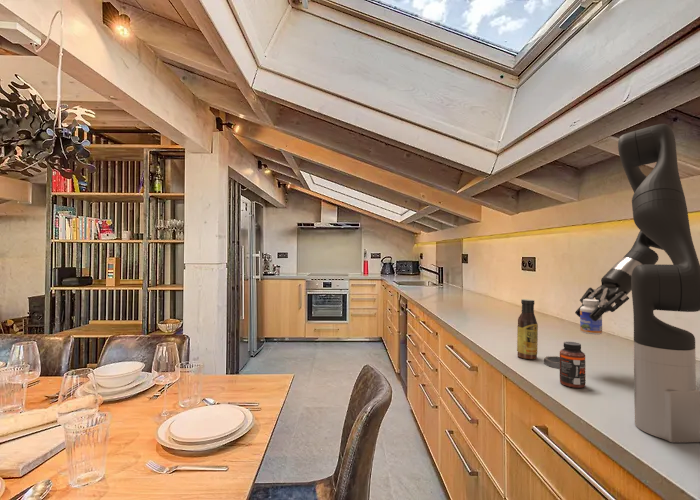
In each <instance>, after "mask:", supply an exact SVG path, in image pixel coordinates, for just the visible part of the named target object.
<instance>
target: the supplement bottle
mask: <svg viewBox="0 0 700 500" xmlns="http://www.w3.org/2000/svg"><path fill="white" fill-rule="evenodd" d="M559 357H560V362H559V363H560V369H559V383H560V384H561V385H563V386H566V387H568V388H574V389H583V388H585V387H586V382H587V381H586V353H584V352H583V351H582V344H581V343H580V342H576V341H575V342H574V341H564V342H563V348H562V349H560V351H559Z"/></svg>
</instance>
